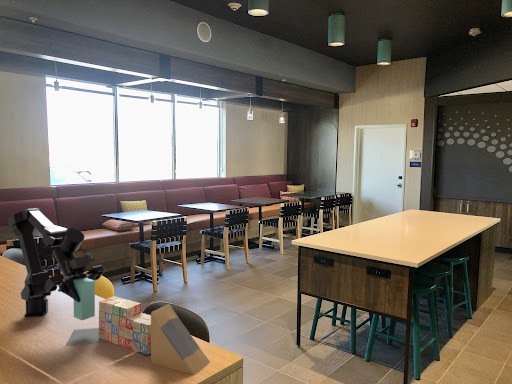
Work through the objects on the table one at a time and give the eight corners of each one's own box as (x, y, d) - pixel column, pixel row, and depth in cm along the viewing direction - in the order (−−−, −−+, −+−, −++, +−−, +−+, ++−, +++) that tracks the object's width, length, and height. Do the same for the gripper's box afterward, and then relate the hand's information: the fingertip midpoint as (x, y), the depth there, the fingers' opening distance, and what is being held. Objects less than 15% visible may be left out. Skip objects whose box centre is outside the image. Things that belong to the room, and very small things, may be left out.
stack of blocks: (161, 348, 123) (163, 309, 122) (147, 356, 117) (148, 315, 116) (113, 331, 133) (114, 295, 132) (97, 337, 127) (98, 300, 127)
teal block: (73, 317, 129) (73, 281, 128) (86, 312, 133) (86, 277, 132) (81, 320, 127) (81, 283, 126) (94, 316, 131) (94, 280, 130)
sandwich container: (195, 376, 107) (195, 322, 106) (150, 363, 114) (150, 312, 113) (211, 362, 115) (212, 311, 114) (168, 350, 121) (168, 303, 120)
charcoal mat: (65, 347, 122) (65, 345, 122) (73, 331, 133) (73, 329, 133) (106, 344, 124) (106, 342, 124) (111, 328, 136) (111, 327, 136)
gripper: (48, 251, 123) (69, 293, 117) (102, 242, 138) (122, 279, 133) (36, 271, 128) (55, 313, 122) (88, 260, 143) (107, 297, 138)
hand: (86, 299), depth 129 cm, fingers closed on teal block, 5 cm apart
